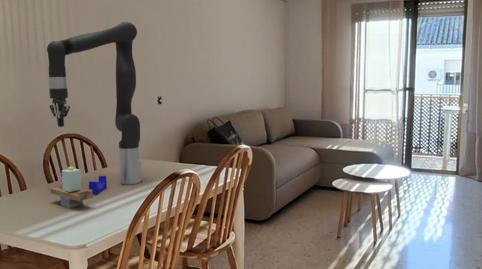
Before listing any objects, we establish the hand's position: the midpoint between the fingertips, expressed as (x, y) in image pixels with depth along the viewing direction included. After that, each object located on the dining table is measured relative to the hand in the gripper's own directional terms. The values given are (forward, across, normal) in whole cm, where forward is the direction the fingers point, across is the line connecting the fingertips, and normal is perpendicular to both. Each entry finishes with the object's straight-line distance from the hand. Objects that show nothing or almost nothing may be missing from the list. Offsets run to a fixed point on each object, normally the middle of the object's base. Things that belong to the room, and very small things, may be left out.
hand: (60, 126), depth 205 cm
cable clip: (+29, -14, -7) cm, 33 cm away
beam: (+29, -24, +12) cm, 40 cm away
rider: (+22, -25, +12) cm, 36 cm away
